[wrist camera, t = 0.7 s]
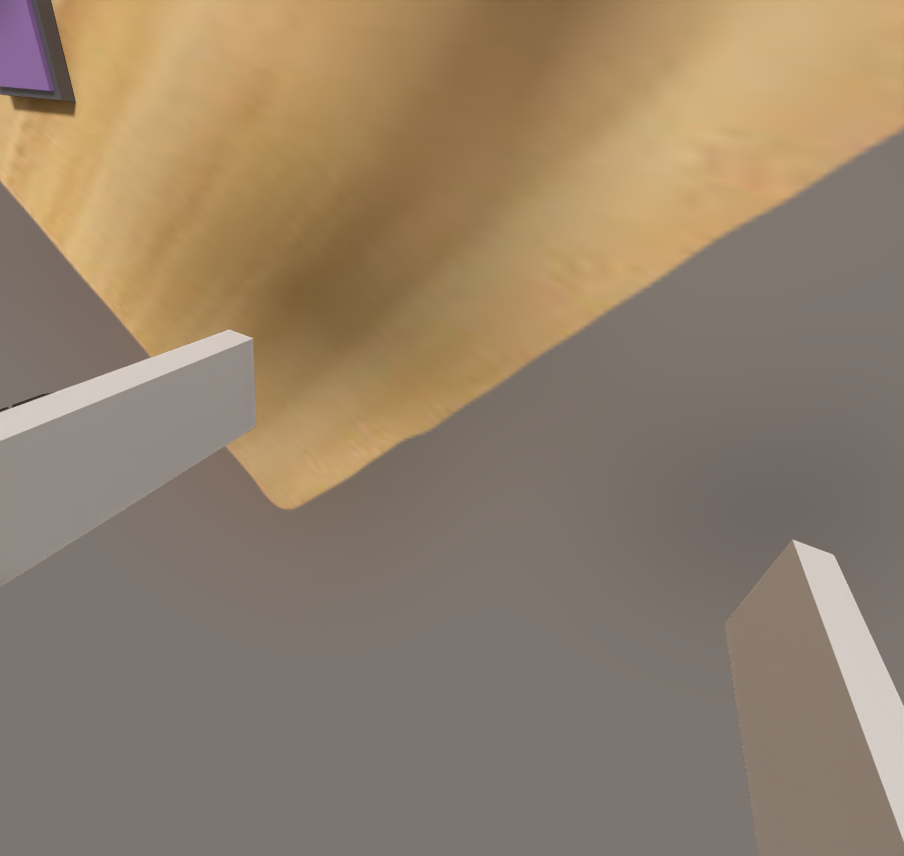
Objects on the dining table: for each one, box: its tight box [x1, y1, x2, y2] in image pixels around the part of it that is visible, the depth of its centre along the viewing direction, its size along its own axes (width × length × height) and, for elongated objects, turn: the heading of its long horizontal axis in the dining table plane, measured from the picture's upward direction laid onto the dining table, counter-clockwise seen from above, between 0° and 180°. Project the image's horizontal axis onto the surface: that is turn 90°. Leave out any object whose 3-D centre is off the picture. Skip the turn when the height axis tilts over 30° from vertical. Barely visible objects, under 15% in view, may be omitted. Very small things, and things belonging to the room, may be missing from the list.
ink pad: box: [0, 0, 75, 102], centre depth 41 cm, size 10×8×2 cm
